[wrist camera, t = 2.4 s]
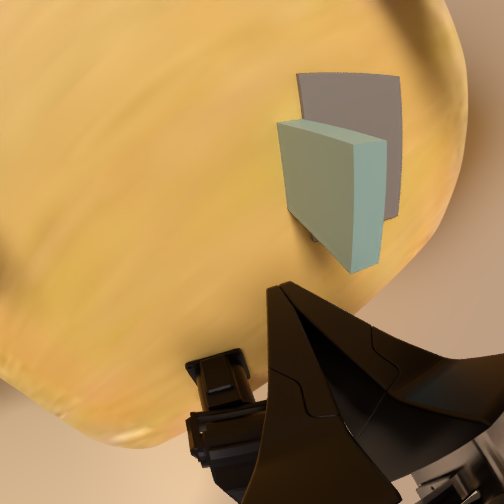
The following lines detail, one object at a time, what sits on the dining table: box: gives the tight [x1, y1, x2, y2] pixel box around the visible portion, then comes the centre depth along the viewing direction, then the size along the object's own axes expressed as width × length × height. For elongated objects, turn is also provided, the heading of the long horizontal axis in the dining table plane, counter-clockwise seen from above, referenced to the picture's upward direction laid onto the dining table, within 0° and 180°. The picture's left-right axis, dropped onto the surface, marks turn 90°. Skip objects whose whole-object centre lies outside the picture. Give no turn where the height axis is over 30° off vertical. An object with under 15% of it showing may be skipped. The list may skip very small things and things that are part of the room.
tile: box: [277, 119, 387, 274], centre depth 16 cm, size 7×2×9 cm, turn 9°
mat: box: [296, 73, 402, 242], centre depth 20 cm, size 14×10×1 cm
